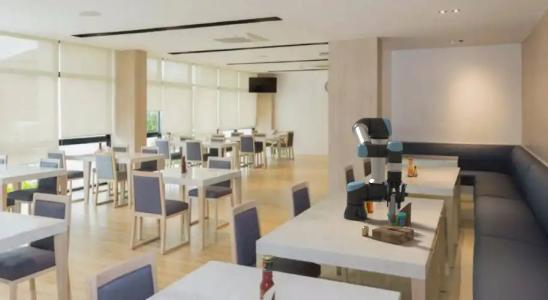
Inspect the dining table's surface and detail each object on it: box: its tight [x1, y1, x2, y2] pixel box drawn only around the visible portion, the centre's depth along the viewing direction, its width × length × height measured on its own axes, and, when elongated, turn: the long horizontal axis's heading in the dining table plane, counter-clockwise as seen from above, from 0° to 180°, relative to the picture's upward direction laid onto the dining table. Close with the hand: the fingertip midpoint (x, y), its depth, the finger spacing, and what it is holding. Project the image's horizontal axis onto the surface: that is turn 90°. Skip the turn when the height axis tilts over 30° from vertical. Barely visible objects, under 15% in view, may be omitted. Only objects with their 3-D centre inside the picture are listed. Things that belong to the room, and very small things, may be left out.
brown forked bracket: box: [399, 202, 412, 227], centre depth 272 cm, size 4×11×18 cm, turn 49°
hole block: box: [371, 224, 415, 246], centre depth 240 cm, size 16×16×5 cm
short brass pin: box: [361, 225, 370, 237], centre depth 246 cm, size 4×4×5 cm
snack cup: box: [386, 212, 406, 228], centre depth 257 cm, size 16×10×10 cm
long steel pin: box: [390, 193, 397, 223], centre depth 239 cm, size 4×4×15 cm
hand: (393, 214), depth 239 cm, fingers closed on long steel pin, 4 cm apart
